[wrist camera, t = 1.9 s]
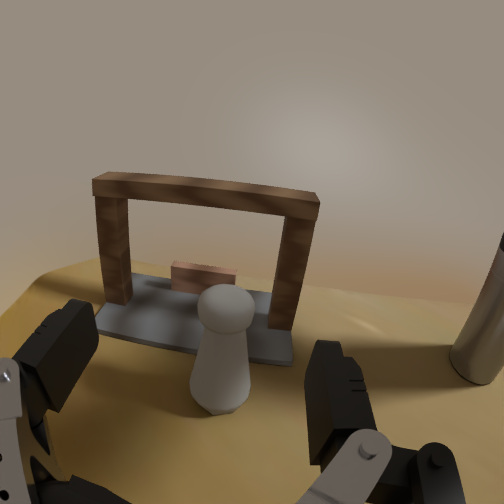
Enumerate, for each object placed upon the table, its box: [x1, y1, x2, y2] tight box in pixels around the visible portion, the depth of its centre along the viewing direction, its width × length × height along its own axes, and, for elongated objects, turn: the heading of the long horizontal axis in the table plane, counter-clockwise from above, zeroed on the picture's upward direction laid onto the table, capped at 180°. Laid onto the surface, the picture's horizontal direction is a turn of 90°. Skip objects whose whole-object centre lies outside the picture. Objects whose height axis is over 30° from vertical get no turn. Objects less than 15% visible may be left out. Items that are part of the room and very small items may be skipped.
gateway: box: [92, 172, 320, 366], centre depth 36 cm, size 25×14×18 cm, turn 86°
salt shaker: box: [189, 284, 255, 415], centre depth 25 cm, size 6×6×13 cm
